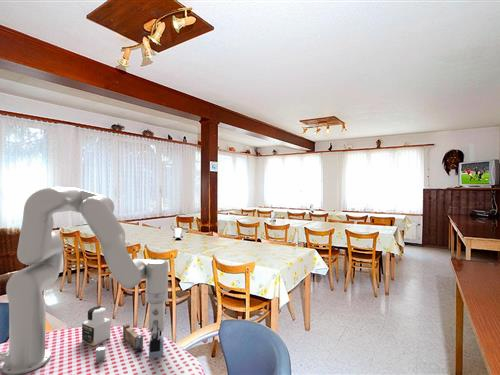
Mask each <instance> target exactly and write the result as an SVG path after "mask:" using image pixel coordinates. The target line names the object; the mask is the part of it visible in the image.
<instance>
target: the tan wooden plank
mask: <svg viewBox="0 0 500 375" xmlns="http://www.w3.org/2000/svg"><path fill="white" fill-rule="evenodd" d="M138 335H139V334H138V333H137V332H136V331H135V330H134V329H133V328H131V325H130V324H129V323H126V324H124V325H123V326H122V338H123V339H124V340H126V341H127V342H128V343H129V344H130V345H131V346H132V347H133V348H135V349H136V336H138Z"/></svg>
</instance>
